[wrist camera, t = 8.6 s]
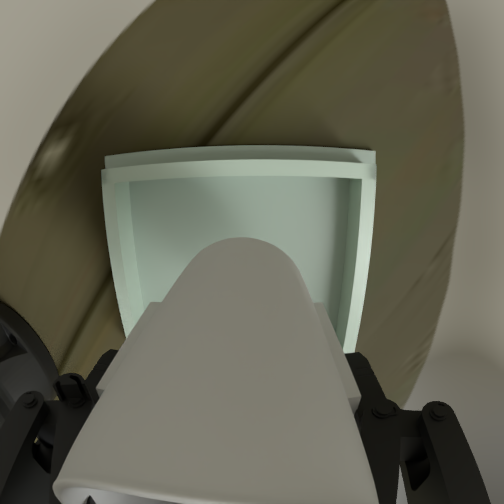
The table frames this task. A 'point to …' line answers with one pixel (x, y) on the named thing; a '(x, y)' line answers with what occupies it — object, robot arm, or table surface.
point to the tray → (242, 218)
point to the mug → (224, 398)
